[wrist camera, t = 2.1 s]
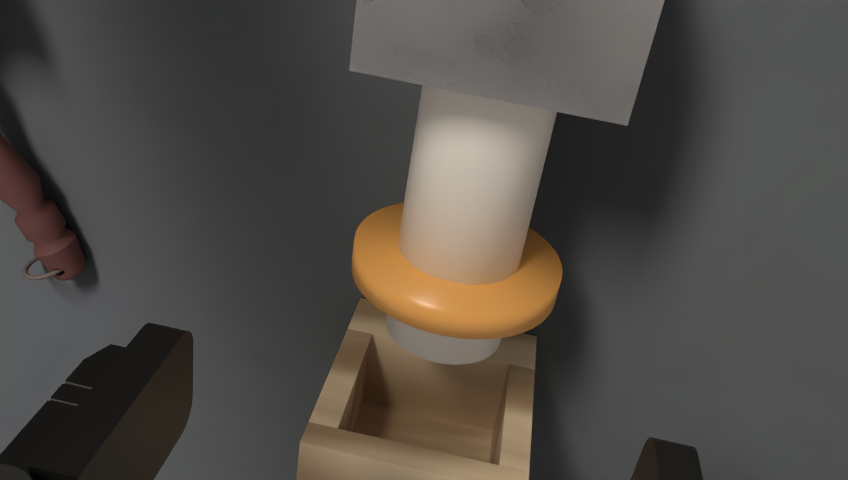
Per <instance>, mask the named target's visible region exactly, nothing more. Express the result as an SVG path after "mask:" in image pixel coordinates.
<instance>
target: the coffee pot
mask: <svg viewBox="0 0 848 480" xmlns="http://www.w3.org/2000/svg"><path fill="white" fill-rule="evenodd" d="M0 200H2V201H3V202H4V203H6V204H7V205H9V206H10V207H11V208H13V209H14V210H15V211H17V215H16V217H15V223H16V224H17V226H18V227H19V229H20V230H21V232H22V233H23V235H24V236H25V238H26V239H27V240H28V241H29V242H32V243H35V244H34V255H35V257H33V258H32V259H31V260H30V261H28V262H27V264H26V265H25V266H24V268H23V276H24V277H26V278H27V279H30V280H41V279H46V278H49V277H52V276H53V277H55V278H56V279H58V280H62V281H65V280H70V279H72V278H74V277H76V276H78V275H79V274H80V273H82V272H83V270H84V269H85V267H86V260H85V257H84V255H83V252H82V250H81V247H80V245H79V242H78V240H77V237H76V234H75V232H73V231H71V230H69V229H67V228H65V223H66V221H65V218H64V217H63V215H62V214H61V212H60V211H59V209H58V207H57V206H56V204H55V203H54V201H52V200H47V199H43V194H42V187H41V180H40V177H39V176H38V175H37V173H36V172H35V171H34V170H33V169H32V168H31V167H30V166H29V165H28V164H27V162H26V161H25V160H24V159H23V158H22V157H21V156H20V155H19V154H18V153H17V152H16V150H15V149H14V148H13V147H12V146H11V145H10V144H9V143H8V142H7V141H6V139H5V138H4V137H3V136H2V135H1V134H0ZM37 260H40V262H41V263H42V264H43V265H44V266H45V267H46V268H47V270H48V271H49V273H47V274H43V275H30V274H28V269H29V267H30V266H31V265H32V264H33V263H34V262H36V261H37Z"/></svg>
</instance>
